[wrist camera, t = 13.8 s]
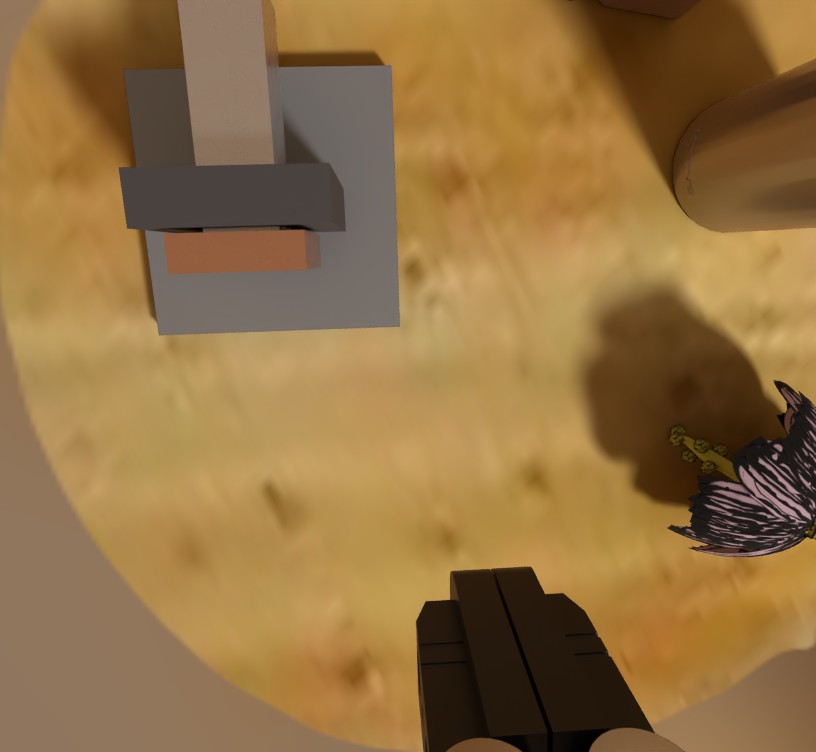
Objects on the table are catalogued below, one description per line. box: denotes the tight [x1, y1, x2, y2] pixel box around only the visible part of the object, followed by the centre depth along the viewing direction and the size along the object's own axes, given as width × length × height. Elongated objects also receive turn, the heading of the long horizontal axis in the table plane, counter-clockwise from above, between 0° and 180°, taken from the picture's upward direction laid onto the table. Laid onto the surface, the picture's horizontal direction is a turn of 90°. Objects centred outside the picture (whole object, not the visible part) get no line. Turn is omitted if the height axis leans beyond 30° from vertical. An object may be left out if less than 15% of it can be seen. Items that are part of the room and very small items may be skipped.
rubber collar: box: [119, 163, 346, 233], centre depth 31 cm, size 10×3×10 cm, turn 92°
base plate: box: [123, 65, 400, 335], centre depth 37 cm, size 17×17×2 cm
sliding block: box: [163, 0, 321, 274], centre depth 29 cm, size 7×14×7 cm, turn 2°
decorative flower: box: [668, 380, 816, 557], centre depth 39 cm, size 15×12×15 cm
